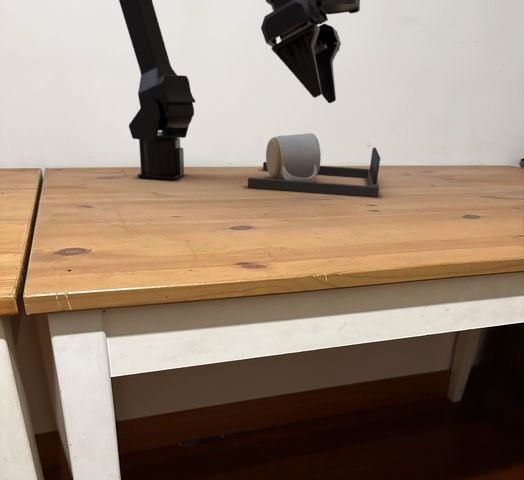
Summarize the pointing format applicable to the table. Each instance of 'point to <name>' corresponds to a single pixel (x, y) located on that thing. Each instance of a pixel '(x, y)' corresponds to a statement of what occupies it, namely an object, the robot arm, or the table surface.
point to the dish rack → (327, 187)
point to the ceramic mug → (293, 157)
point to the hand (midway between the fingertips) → (325, 99)
